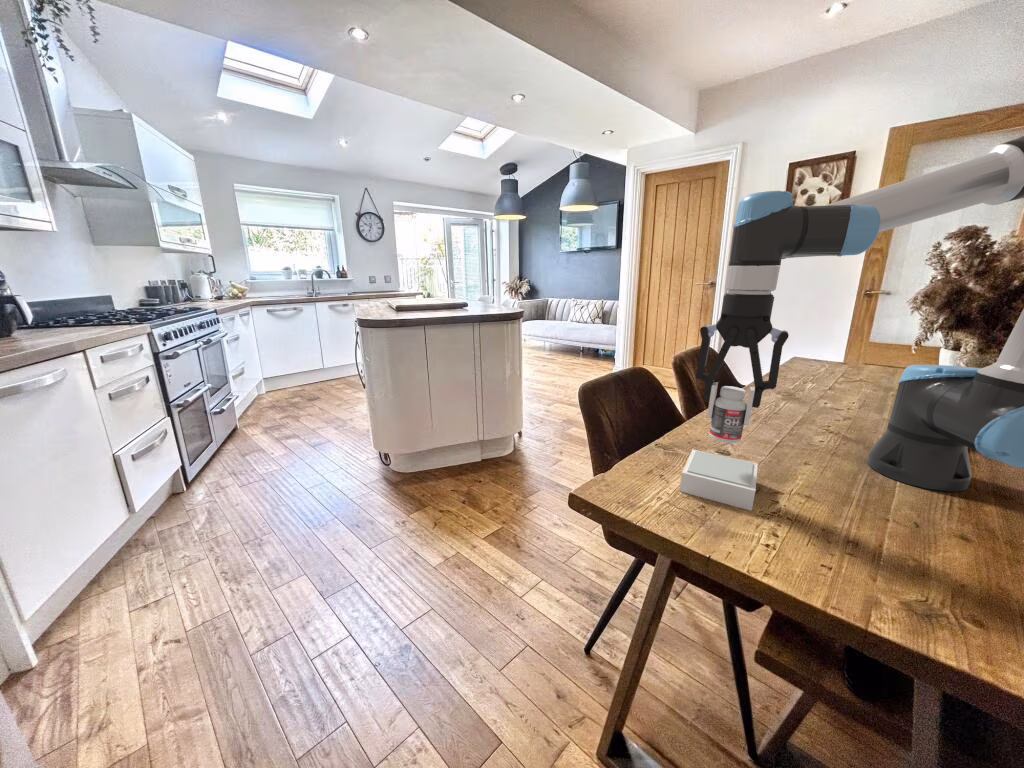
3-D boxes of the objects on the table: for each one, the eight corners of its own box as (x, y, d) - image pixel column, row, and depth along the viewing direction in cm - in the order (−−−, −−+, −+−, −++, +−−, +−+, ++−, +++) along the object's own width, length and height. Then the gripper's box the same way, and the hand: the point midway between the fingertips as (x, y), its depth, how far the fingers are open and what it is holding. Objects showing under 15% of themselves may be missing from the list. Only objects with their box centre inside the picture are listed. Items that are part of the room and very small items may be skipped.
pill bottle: (724, 445, 71) (733, 394, 68) (702, 434, 76) (709, 386, 73) (747, 442, 73) (757, 391, 70) (724, 431, 77) (732, 383, 75)
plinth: (754, 481, 79) (758, 462, 78) (751, 510, 69) (755, 489, 68) (690, 466, 85) (692, 447, 84) (679, 491, 75) (682, 471, 74)
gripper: (813, 293, 65) (786, 423, 71) (694, 290, 75) (679, 405, 81) (818, 295, 59) (787, 437, 65) (687, 291, 68) (672, 416, 75)
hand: (727, 419), depth 73 cm, fingers closed on pill bottle, 5 cm apart
